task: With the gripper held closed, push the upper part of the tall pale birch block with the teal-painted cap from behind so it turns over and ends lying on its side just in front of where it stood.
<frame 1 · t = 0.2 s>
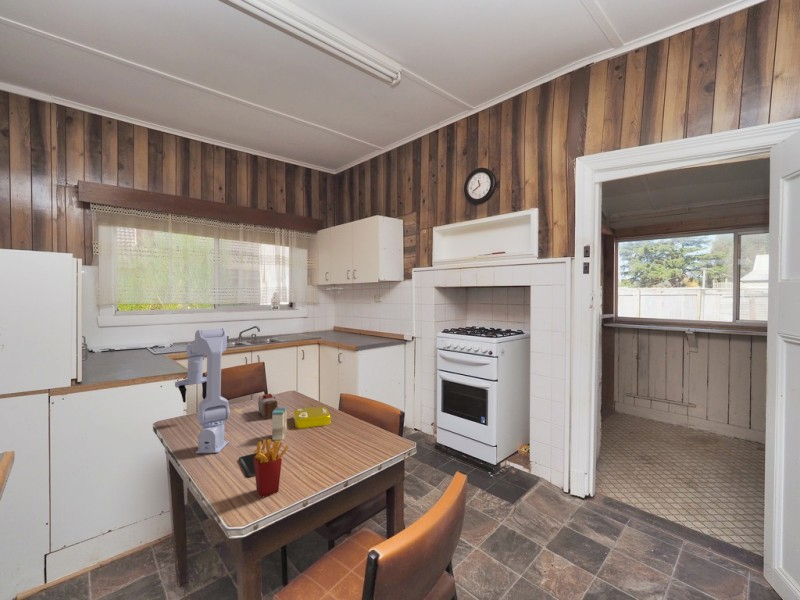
hand: (194, 399, 154), 11 cm above the table, tool pointing down, fingers open, 7 cm apart
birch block: (279, 436, 141), on the table
phone: (255, 466, 117), on the table
french fries: (270, 489, 103), on the table
yellow flat box: (311, 422, 158), on the table
food item: (268, 414, 166), on the table
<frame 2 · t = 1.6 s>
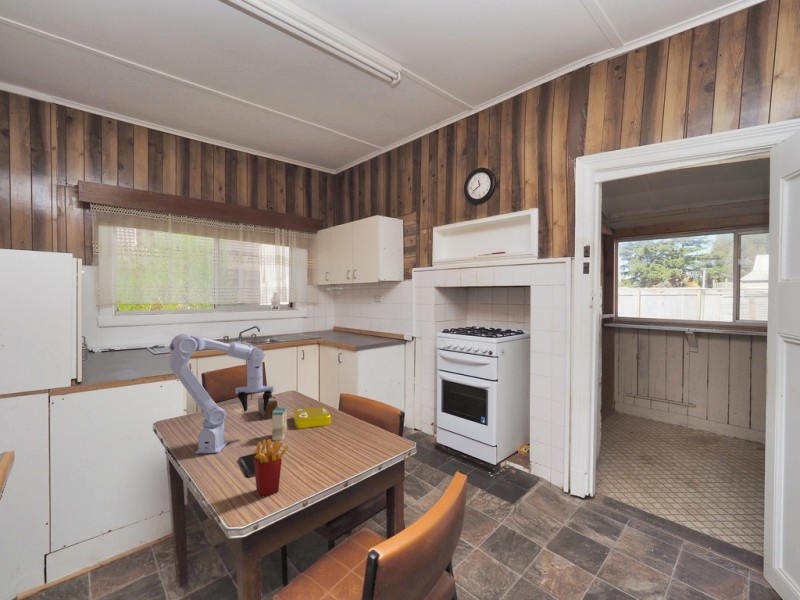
hand: (255, 410, 141), 10 cm above the table, tool pointing down, fingers open, 7 cm apart
nothing on the table moved.
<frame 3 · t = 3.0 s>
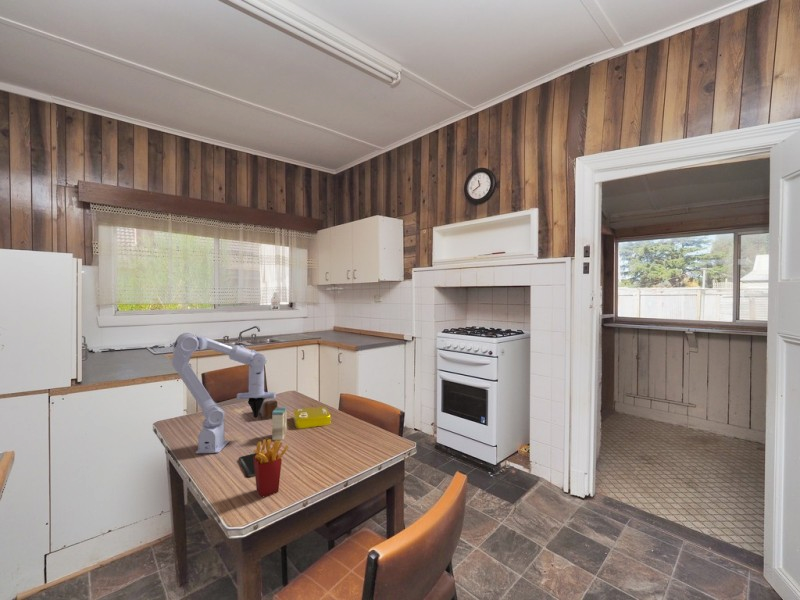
hand: (256, 416, 140), 8 cm above the table, tool pointing down, fingers closed
nothing on the table moved.
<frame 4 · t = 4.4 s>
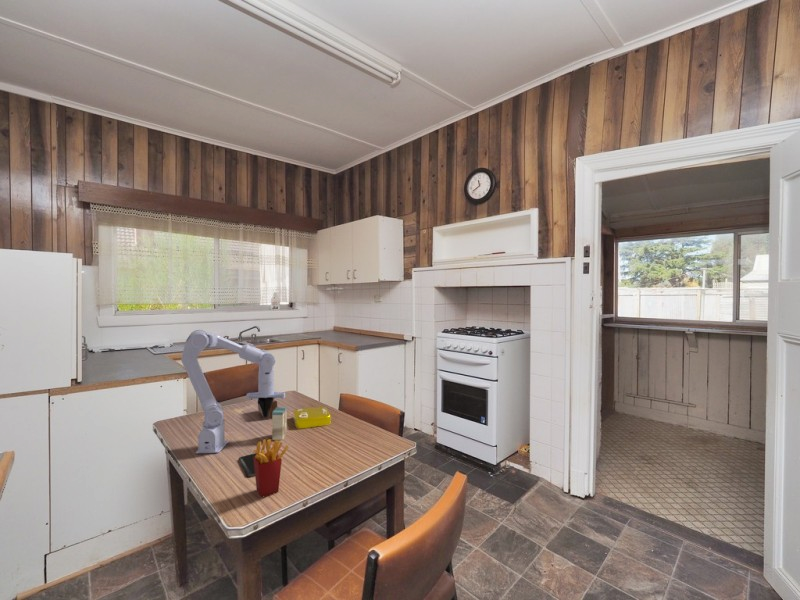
hand: (266, 416, 140), 8 cm above the table, tool pointing down, fingers closed
nothing on the table moved.
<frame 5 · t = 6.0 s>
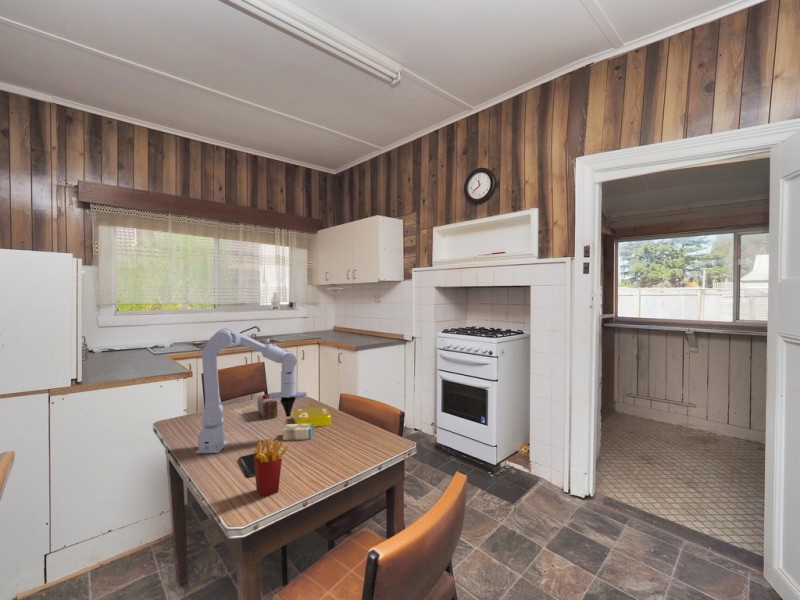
hand: (288, 415, 141), 8 cm above the table, tool pointing down, fingers closed
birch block: (284, 432, 141), point 2 cm above the table, tilted 90°
everything else where it was.
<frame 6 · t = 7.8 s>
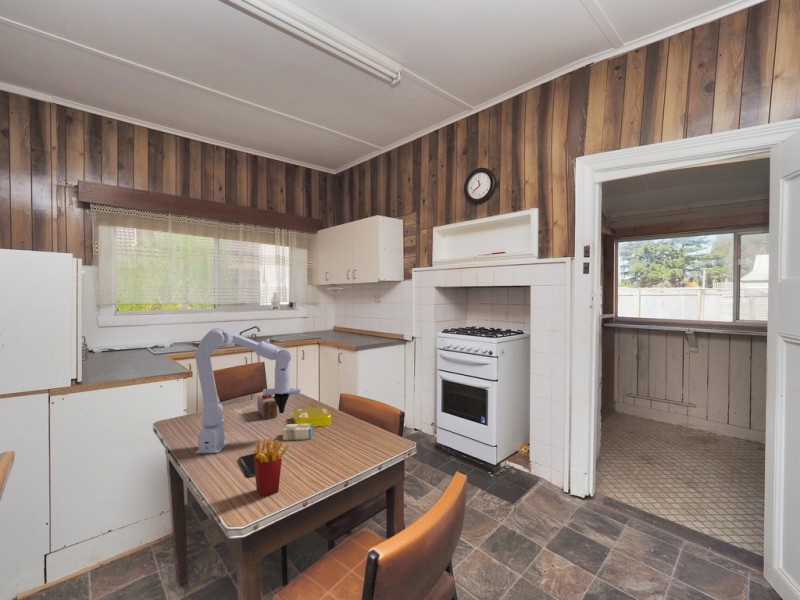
hand: (281, 412, 140), 10 cm above the table, tool pointing down, fingers closed
nothing on the table moved.
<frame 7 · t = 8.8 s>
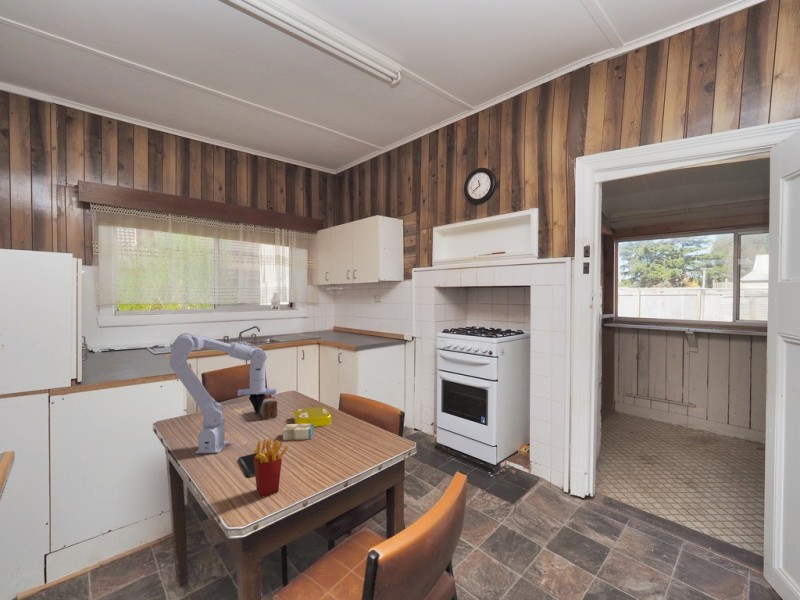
hand: (257, 413, 138), 10 cm above the table, tool pointing down, fingers closed
nothing on the table moved.
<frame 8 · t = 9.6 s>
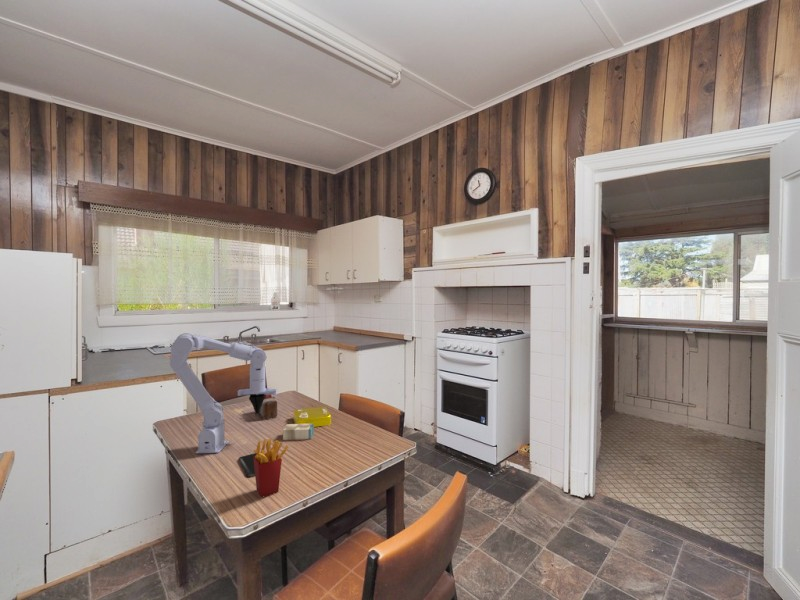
hand: (257, 413, 138), 10 cm above the table, tool pointing down, fingers closed
nothing on the table moved.
at the end: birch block tilted 90°; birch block inside the target area (0.4 cm from its centre), point 1.9 cm above the table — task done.
